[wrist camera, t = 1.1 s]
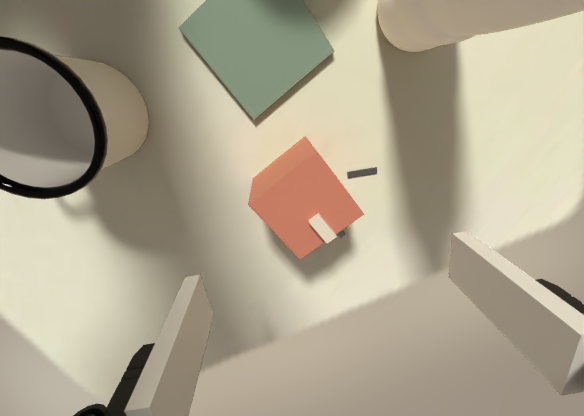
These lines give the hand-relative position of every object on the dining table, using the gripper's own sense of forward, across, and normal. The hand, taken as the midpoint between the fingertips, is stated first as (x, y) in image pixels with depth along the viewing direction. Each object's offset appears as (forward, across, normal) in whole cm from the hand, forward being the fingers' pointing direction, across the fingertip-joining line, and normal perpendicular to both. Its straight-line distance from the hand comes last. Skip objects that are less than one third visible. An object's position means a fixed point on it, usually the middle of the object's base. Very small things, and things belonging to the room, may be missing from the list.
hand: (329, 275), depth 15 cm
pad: (+15, -2, +13) cm, 20 cm away
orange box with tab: (+15, 0, 0) cm, 15 cm away
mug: (+16, -18, +9) cm, 25 cm away
